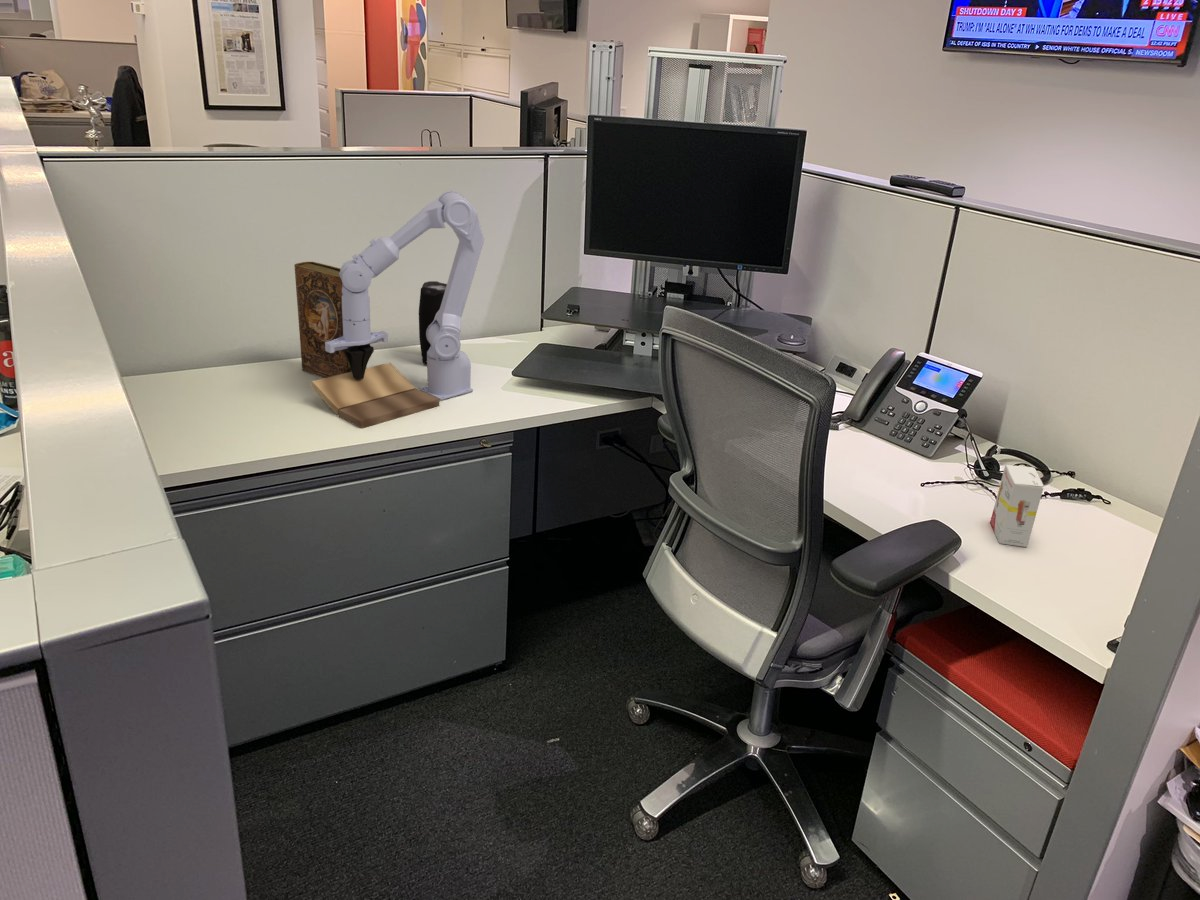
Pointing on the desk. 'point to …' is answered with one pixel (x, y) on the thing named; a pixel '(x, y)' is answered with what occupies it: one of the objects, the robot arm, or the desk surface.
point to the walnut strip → (388, 408)
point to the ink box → (1016, 505)
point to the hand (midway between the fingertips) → (358, 377)
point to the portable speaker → (429, 311)
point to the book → (320, 318)
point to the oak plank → (361, 387)
